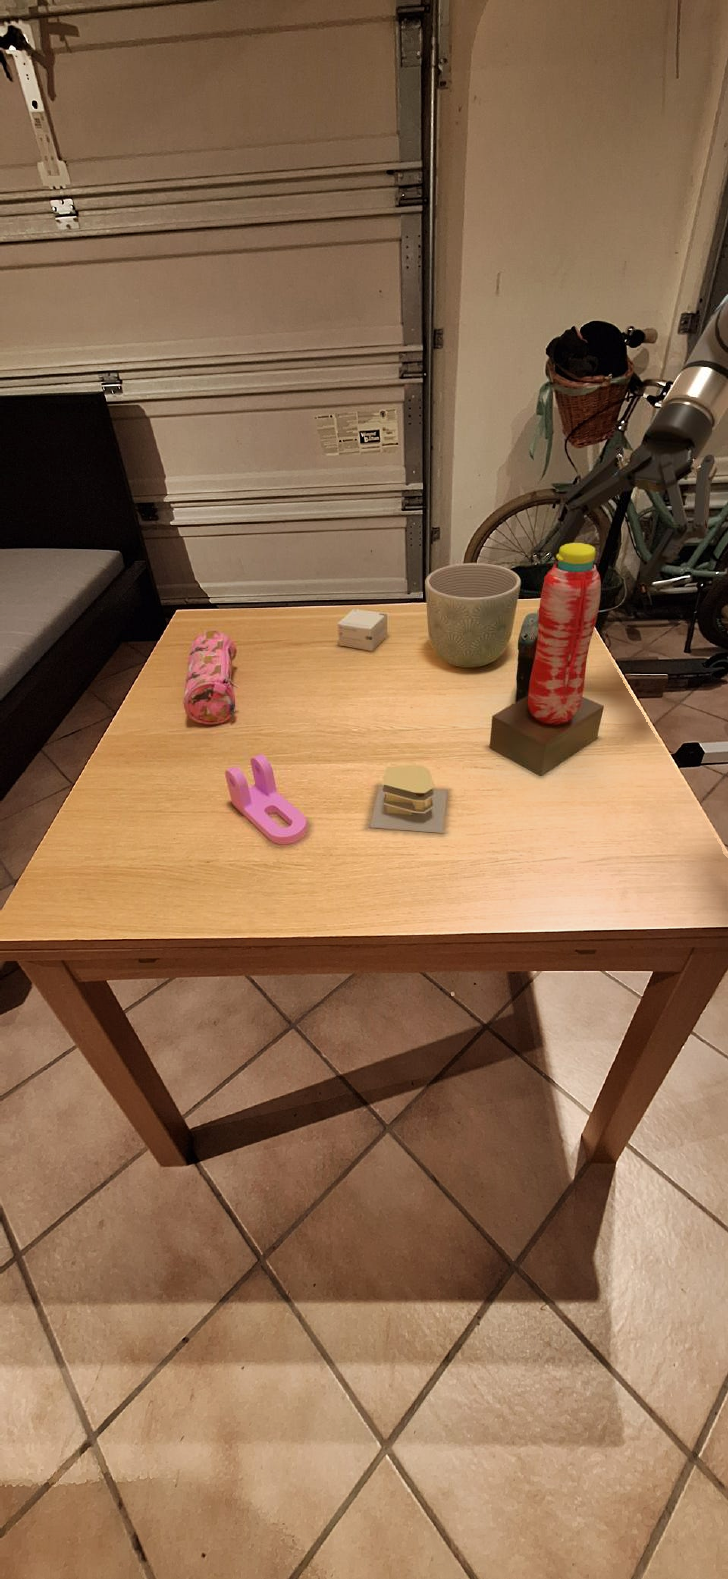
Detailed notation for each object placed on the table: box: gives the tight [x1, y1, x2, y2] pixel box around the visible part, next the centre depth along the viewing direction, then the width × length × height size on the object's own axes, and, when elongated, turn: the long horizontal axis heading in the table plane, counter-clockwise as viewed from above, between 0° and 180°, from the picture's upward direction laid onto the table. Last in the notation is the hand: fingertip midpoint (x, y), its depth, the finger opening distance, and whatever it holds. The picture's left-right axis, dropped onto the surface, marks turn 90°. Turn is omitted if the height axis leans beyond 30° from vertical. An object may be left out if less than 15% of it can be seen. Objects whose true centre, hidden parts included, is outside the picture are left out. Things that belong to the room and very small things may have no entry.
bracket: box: [224, 753, 308, 846], centre depth 87 cm, size 13×6×7 cm, turn 39°
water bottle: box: [525, 542, 602, 725], centre depth 88 cm, size 12×8×25 cm, turn 2°
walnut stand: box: [489, 696, 605, 777], centre depth 98 cm, size 10×14×6 cm
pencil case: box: [182, 629, 238, 725], centre depth 114 cm, size 21×9×9 cm, turn 10°
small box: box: [337, 608, 388, 652], centre depth 129 cm, size 8×8×5 cm
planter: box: [424, 562, 522, 668], centre depth 118 cm, size 17×17×15 cm
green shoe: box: [514, 608, 539, 703], centre depth 105 cm, size 20×6×20 cm, turn 152°
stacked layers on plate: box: [369, 765, 448, 834], centre depth 87 cm, size 10×9×6 cm
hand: (598, 569), depth 84 cm, fingers open, 13 cm apart
